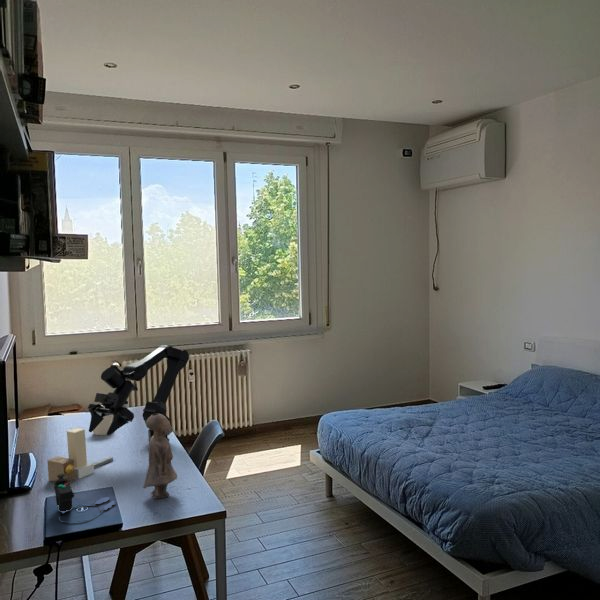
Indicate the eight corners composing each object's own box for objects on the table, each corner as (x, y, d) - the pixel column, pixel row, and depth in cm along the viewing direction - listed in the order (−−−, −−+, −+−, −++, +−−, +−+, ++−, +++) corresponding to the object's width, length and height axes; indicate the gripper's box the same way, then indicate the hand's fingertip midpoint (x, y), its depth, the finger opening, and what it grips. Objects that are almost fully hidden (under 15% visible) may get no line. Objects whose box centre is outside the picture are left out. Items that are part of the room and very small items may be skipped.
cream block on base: (78, 468, 193) (75, 426, 192) (93, 472, 189) (91, 429, 188) (63, 474, 188) (60, 431, 187) (79, 478, 184) (76, 434, 183)
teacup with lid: (117, 433, 233) (115, 406, 232) (94, 437, 229) (92, 409, 228) (111, 426, 243) (109, 400, 243) (89, 430, 239) (87, 403, 238)
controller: (69, 502, 165) (67, 470, 164) (77, 518, 154) (74, 483, 154) (53, 506, 163) (51, 473, 162) (60, 522, 152) (58, 487, 152)
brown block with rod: (103, 458, 202) (102, 439, 202) (120, 462, 198) (118, 442, 198) (48, 480, 183) (47, 460, 182) (65, 485, 179) (64, 464, 178)
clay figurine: (182, 499, 164) (178, 416, 162) (148, 507, 160) (143, 422, 158) (172, 484, 176) (168, 407, 174) (140, 491, 171) (135, 412, 170)
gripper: (89, 381, 203) (66, 419, 195) (125, 385, 194) (102, 425, 185) (108, 397, 211) (86, 434, 202) (143, 401, 202) (122, 440, 193)
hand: (98, 433), depth 196 cm, fingers open, 9 cm apart
